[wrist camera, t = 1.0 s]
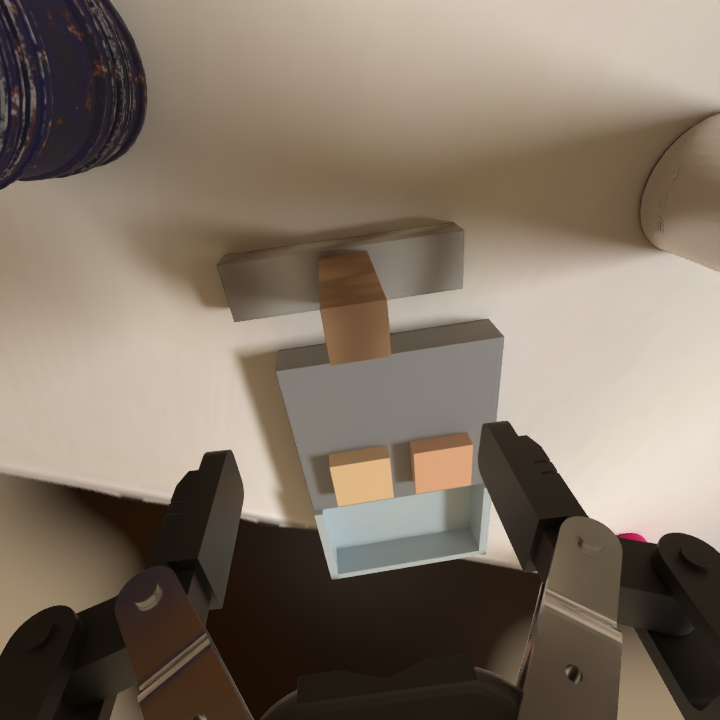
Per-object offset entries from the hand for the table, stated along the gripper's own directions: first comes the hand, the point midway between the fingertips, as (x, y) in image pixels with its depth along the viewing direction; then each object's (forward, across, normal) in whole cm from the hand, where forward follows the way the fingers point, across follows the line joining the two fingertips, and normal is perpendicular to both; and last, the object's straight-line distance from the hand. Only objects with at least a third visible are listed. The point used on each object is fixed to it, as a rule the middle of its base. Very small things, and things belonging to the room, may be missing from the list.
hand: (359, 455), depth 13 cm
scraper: (+19, 0, 0) cm, 19 cm away
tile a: (+15, -7, +17) cm, 24 cm away
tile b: (+15, 0, +17) cm, 23 cm away
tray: (+18, -4, +27) cm, 33 cm away
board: (+18, -4, +14) cm, 23 cm away
